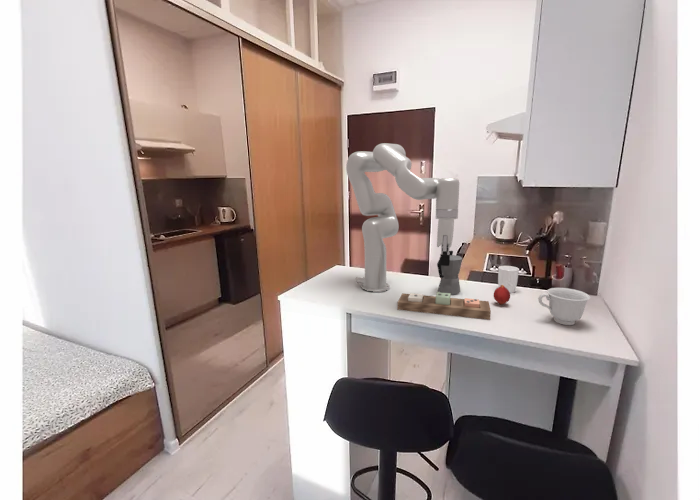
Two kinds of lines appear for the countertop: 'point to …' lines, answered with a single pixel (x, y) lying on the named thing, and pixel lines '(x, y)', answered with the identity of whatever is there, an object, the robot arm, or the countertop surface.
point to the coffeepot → (450, 275)
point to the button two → (443, 298)
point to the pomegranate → (501, 295)
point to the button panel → (445, 307)
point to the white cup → (508, 277)
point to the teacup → (565, 304)
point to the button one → (415, 297)
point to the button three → (471, 303)
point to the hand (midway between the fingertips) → (444, 264)
